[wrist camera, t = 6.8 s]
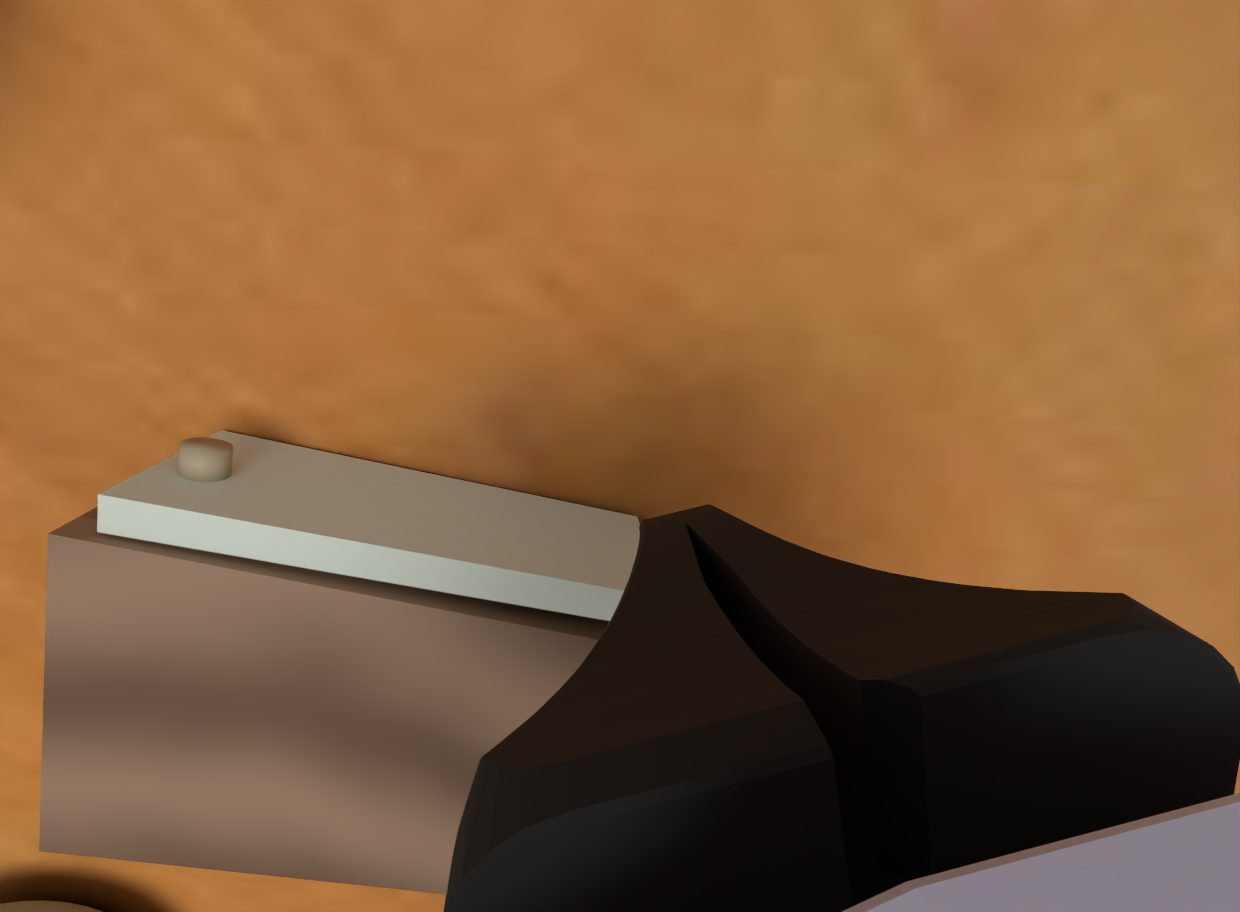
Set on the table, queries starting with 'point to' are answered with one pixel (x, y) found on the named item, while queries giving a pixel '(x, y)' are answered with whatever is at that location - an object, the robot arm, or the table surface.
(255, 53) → the table surface
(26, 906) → the air freshener
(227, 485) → the cabinet door
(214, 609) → the walnut cabinet
